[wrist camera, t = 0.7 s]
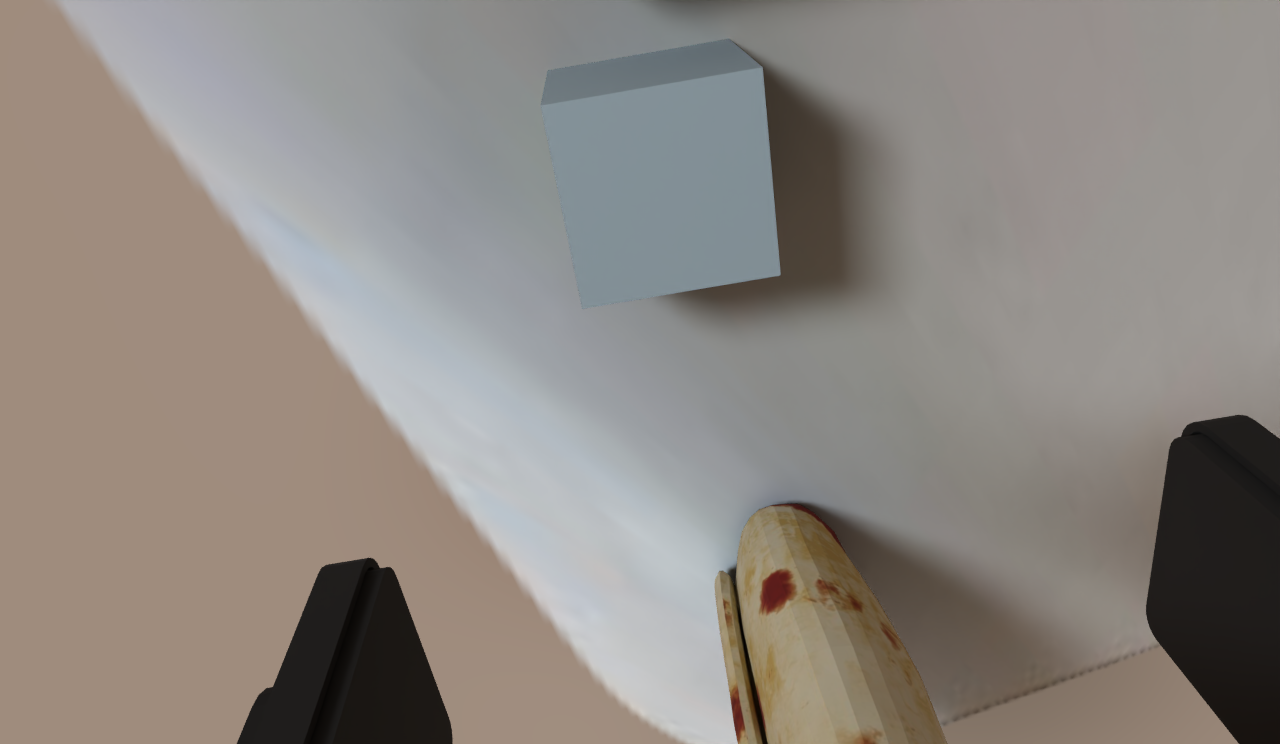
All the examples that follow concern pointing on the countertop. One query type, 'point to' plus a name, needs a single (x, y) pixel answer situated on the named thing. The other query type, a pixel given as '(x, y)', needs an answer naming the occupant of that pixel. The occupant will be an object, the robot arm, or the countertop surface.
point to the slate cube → (663, 171)
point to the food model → (813, 643)
